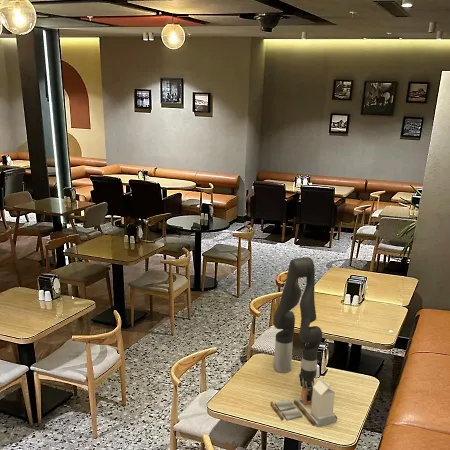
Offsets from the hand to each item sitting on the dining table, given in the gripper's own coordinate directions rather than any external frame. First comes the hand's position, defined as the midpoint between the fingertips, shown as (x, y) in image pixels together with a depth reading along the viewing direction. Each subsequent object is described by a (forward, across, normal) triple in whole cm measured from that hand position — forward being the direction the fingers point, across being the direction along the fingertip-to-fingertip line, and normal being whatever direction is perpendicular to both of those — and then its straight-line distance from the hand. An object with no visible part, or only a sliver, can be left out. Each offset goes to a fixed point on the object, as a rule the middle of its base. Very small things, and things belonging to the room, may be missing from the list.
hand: (306, 398), depth 232 cm
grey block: (+2, +8, 0) cm, 8 cm away
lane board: (+2, +7, -6) cm, 9 cm away
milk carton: (+2, +13, 0) cm, 13 cm away
